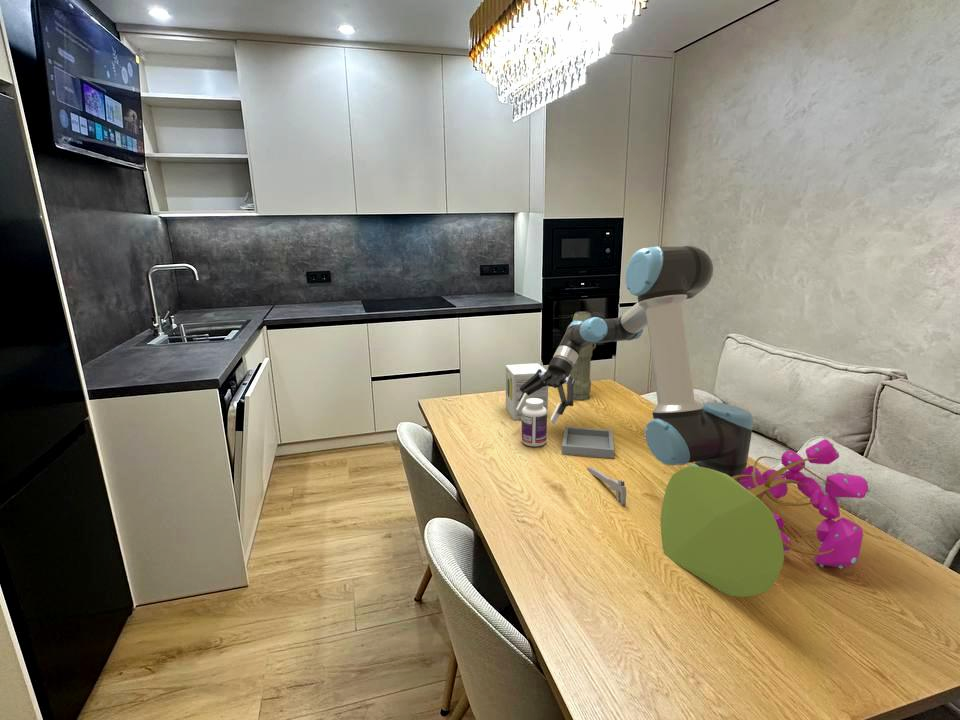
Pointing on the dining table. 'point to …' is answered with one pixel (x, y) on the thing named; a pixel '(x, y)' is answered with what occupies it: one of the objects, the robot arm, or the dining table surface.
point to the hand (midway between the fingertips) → (534, 416)
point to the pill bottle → (534, 423)
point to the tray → (588, 442)
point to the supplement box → (516, 379)
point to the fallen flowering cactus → (754, 521)
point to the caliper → (612, 484)
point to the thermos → (582, 365)
